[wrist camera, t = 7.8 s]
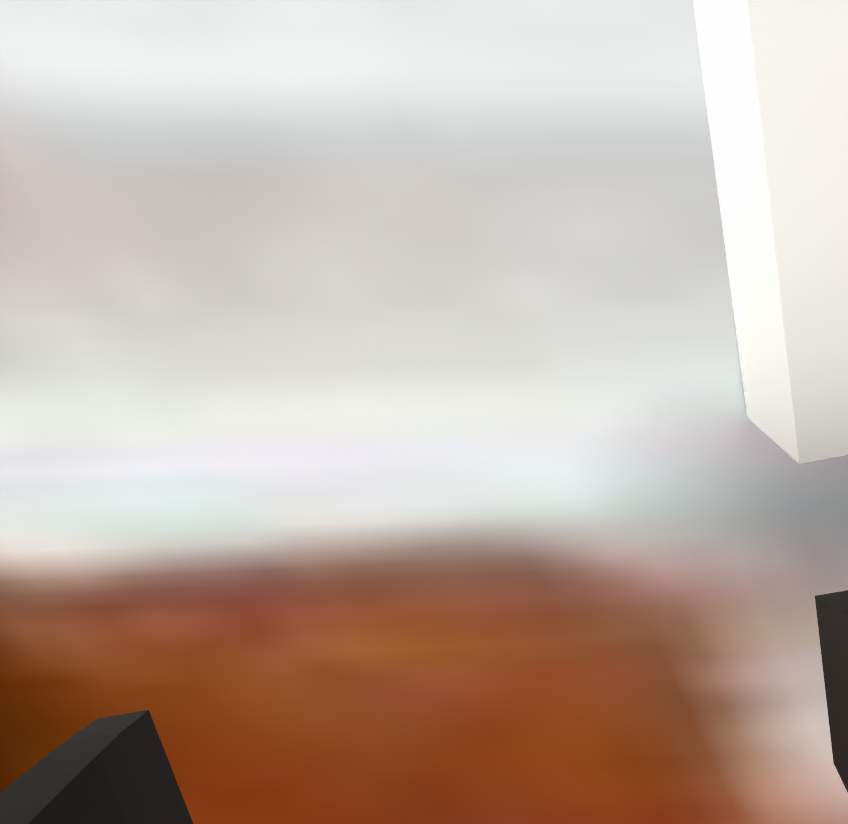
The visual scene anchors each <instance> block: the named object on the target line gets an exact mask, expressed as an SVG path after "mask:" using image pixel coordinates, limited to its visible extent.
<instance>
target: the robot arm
mask: <svg viewBox="0 0 848 824" xmlns="http://www.w3.org/2000/svg"><path fill="white" fill-rule="evenodd" d="M815 600H816V609H817V618H818V627H819V636H820V645H821V654H822V663H823V672H824V681H825V690H826V698H827V707H828V716H829V725H830V734H831V743H832V752H833V761H834V765H835V767H836V769H837V771H838V773H839V775H840V777H841V779H842V781H843V783H844V785H845V788H846V790H847V792H848V590H847V591H841V592H836V593H830V594H824V595H818V596H815ZM0 824H193V822H192V820H191V817H190V815H189V812H188V809H187V807H186V804H185V802H184V799H183V797H182V794H181V792H180V789H179V786H178V784H177V781H176V779H175V776H174V774H173V771H172V769H171V766H170V763H169V761H168V758H167V756H166V753H165V751H164V748H163V746H162V743H161V740H160V738H159V735H158V733H157V730H156V728H155V725H154V723H153V720H152V717H151V715H150V712H149V710H146V711H140V712H134V713H128V714H122V715H117V716H111V717H105V718H99V719H97V720H96V721H94V722H93V723H91V724H90V725H88V726H87V727H85V728H84V729H82V730H81V731H79V732H78V733H76V734H75V735H74V736H72V737H71V738H69V739H68V740H67V741H65V742H64V743H63V744H61V745H60V746H59V747H58V748H56V749H55V750H54V751H52V752H51V753H50V754H48V755H47V756H46V757H45V758H43V759H42V760H41V761H39V762H38V763H37V764H36V765H34V766H33V767H32V768H31V769H29V770H28V771H27V772H26V773H24V774H23V775H22V776H21V777H19V778H18V779H17V780H16V781H14V782H13V783H12V784H11V785H9V786H8V787H7V788H6V789H4V790H3V791H2V792H1V793H0Z"/></svg>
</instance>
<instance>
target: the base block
mask: <svg viewBox="0 0 848 824" xmlns="http://www.w3.org/2000/svg"><path fill="white" fill-rule="evenodd" d="M693 4H694V11H695V19H696V27H697V35H698V42H699V50H700V58H701V65H702V73H703V81H704V89H705V96H706V104H707V112H708V119H709V127H710V135H711V143H712V150H713V158H714V166H715V173H716V181H717V189H718V196H719V204H720V212H721V220H722V227H723V235H724V243H725V250H726V258H727V266H728V274H729V281H730V289H731V297H732V304H733V312H734V320H735V328H736V335H737V343H738V351H739V358H740V366H741V374H742V382H743V389H744V397H745V405H746V412H747V418H748V419H749V420H751V421H752V422H753V423H754V424H755V425H756V426H757V427H758V428H759V429H761V430H762V431H763V432H764V433H765V434H766V435H767V436H768V437H770V438H771V439H772V440H773V441H774V442H775V443H776V444H777V445H778V446H780V447H781V448H782V449H783V450H784V451H785V452H786V453H787V454H788V455H790V456H791V457H792V458H793V459H794V460H795V461H796V462H797V463H798V464H804V463H809V462H814V461H820V460H825V459H830V458H835V457H840V456H846V455H848V0H693Z"/></svg>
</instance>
